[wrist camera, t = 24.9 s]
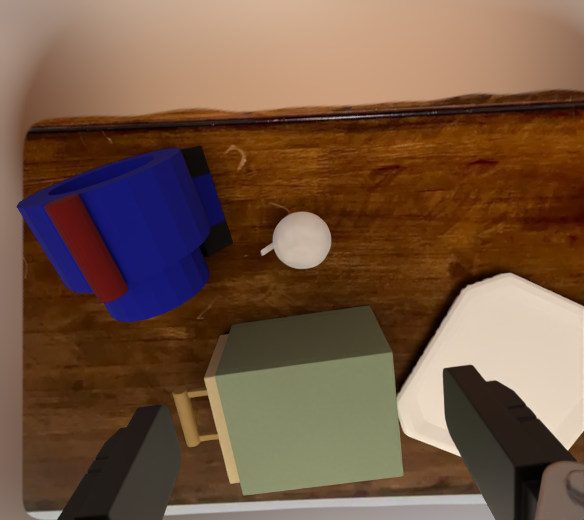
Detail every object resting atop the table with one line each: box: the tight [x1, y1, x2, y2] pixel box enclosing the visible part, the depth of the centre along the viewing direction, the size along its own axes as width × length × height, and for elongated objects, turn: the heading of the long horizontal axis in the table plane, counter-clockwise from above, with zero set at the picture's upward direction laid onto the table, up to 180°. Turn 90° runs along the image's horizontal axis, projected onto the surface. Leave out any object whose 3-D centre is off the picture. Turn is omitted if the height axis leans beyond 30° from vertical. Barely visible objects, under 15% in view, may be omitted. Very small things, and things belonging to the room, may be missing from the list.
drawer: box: [173, 334, 240, 483], centre depth 38 cm, size 18×11×8 cm, turn 99°
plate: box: [396, 273, 584, 456], centre depth 42 cm, size 21×21×2 cm
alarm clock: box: [17, 146, 233, 322], centre depth 31 cm, size 12×12×15 cm
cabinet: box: [215, 305, 403, 495], centre depth 38 cm, size 15×13×10 cm
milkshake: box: [261, 205, 331, 269], centre depth 33 cm, size 5×5×10 cm
